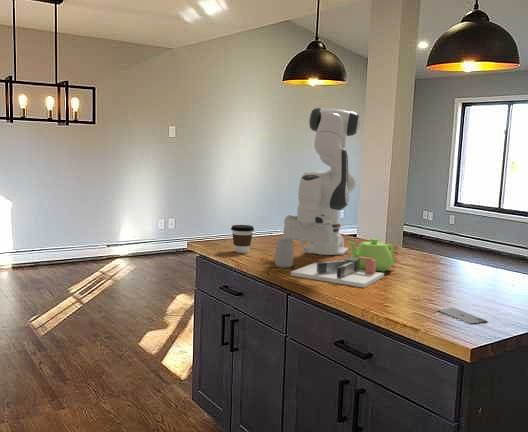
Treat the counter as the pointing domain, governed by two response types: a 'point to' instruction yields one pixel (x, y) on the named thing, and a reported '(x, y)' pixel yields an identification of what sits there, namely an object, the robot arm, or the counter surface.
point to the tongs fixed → (348, 267)
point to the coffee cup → (242, 237)
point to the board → (351, 279)
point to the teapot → (374, 254)
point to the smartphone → (462, 316)
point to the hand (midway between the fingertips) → (307, 252)
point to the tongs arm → (329, 266)
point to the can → (284, 252)
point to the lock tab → (369, 264)
